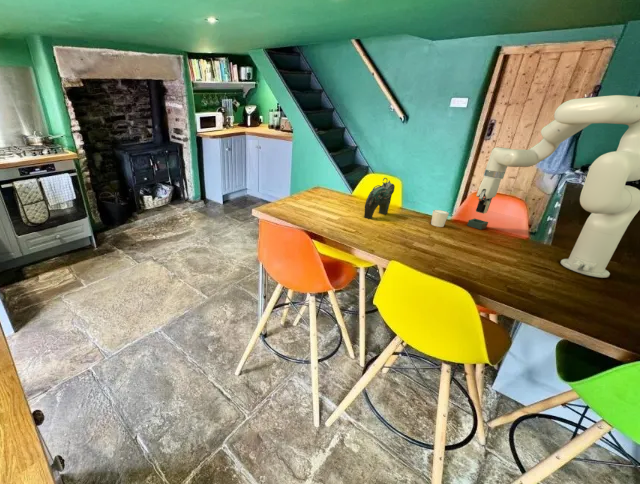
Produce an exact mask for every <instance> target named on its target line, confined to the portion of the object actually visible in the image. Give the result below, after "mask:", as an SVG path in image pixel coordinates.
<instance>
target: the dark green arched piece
mask: <svg viewBox="0 0 640 484" xmlns="http://www.w3.org/2000/svg"><path fill="white" fill-rule="evenodd" d="M384 180H386V182H384ZM394 192H395V184H394V183H391V181H390V179H389V180H388V178H387V177H383V179H382V184H381V185H380V184H377V185H375V186H374V187H372V190H371V191H370V192H369V193H368V194H367V195H368V196H367V198H366V201H365V204H364V215H363V217H364V218H365V219H368V220H370V219H373V216H374V213H375V211H376V209H377V208H378V214H381V215H383V216H384V215H388V212H389V208H390V204H391V201H392V196H393V194H394Z"/></svg>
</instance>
